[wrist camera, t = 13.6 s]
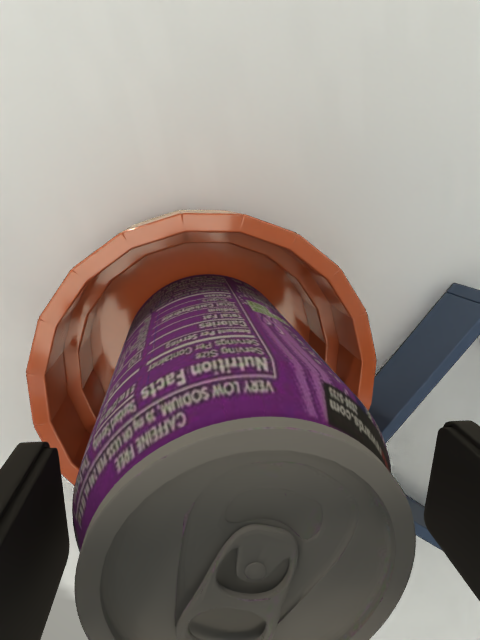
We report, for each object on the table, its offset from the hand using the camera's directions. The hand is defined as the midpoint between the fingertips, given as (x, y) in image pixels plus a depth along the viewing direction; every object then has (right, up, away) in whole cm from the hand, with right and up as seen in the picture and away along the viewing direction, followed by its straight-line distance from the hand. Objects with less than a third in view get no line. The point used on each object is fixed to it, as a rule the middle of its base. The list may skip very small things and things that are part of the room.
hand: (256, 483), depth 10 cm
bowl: (-2, +3, +9) cm, 10 cm away
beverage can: (-2, +3, +9) cm, 10 cm away
